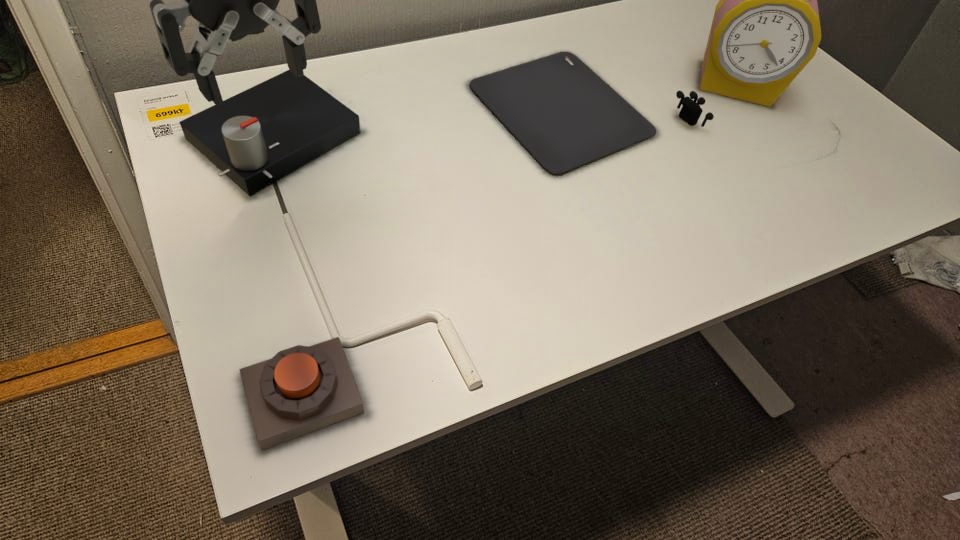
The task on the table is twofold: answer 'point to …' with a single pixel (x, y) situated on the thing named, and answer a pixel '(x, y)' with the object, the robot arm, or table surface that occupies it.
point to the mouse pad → (562, 111)
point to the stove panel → (275, 128)
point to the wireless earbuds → (692, 108)
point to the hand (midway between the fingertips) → (257, 85)
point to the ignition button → (297, 375)
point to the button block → (300, 416)
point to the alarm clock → (759, 47)
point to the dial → (245, 143)
